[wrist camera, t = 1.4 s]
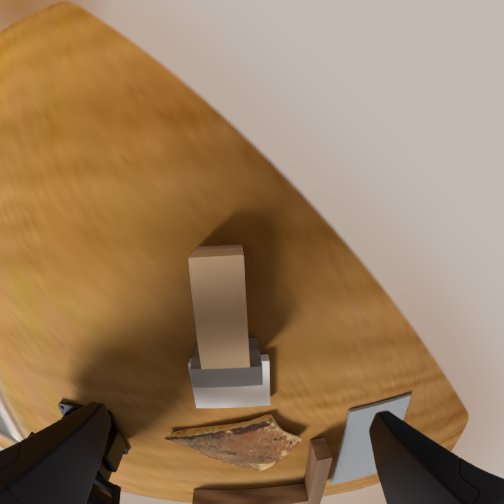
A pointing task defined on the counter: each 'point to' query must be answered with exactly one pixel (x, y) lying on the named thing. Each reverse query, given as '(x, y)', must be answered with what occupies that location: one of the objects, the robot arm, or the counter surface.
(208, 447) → the shard
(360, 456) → the mat
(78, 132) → the counter surface
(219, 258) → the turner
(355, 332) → the counter surface
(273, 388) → the counter surface
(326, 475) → the corner fence
